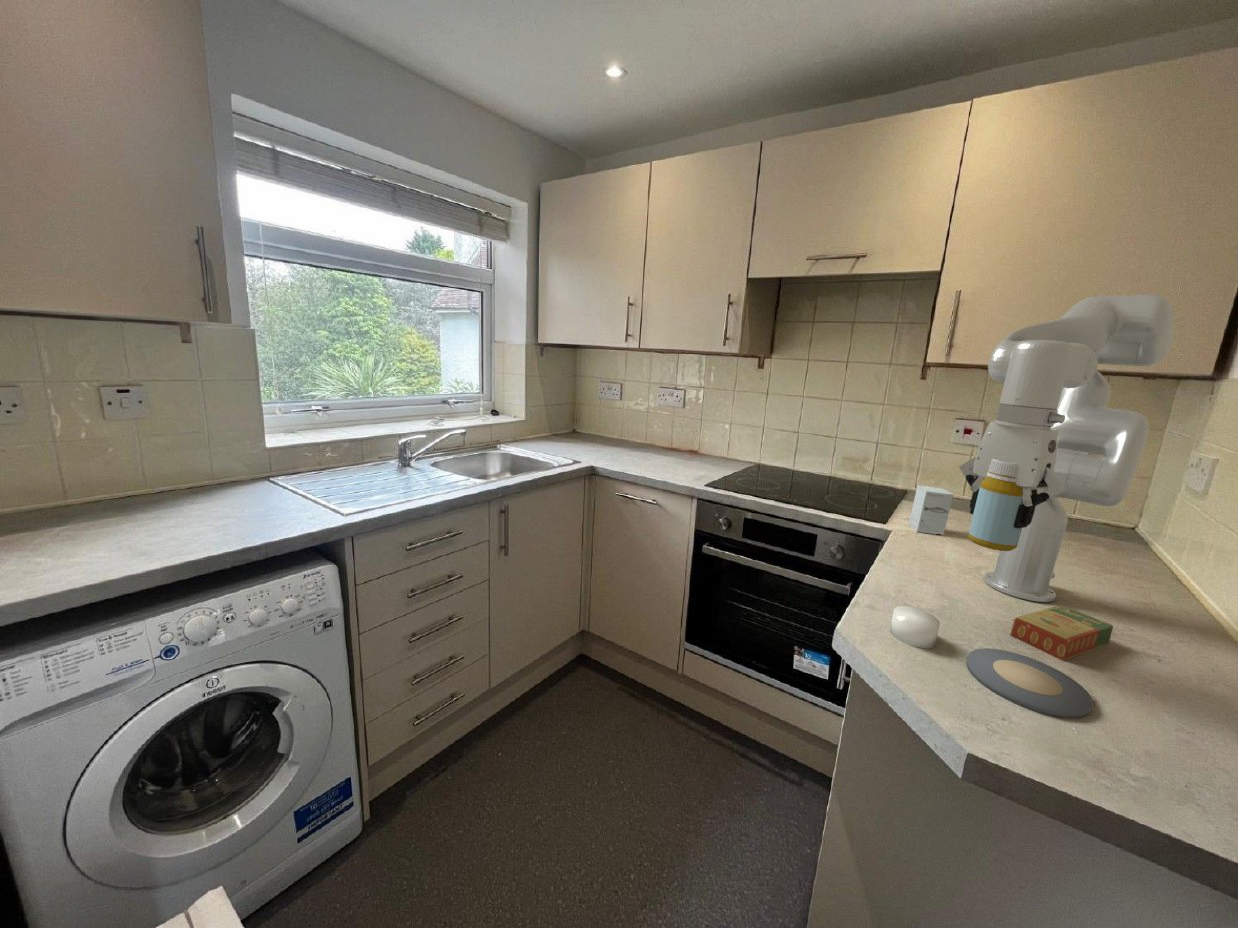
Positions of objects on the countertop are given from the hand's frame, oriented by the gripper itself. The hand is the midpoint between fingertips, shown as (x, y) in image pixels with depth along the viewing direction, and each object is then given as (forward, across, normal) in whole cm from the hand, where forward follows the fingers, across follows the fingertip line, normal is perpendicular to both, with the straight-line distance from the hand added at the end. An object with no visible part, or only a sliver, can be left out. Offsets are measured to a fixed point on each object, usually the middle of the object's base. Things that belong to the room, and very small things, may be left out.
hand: (997, 519), depth 86 cm
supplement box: (+22, +40, -49) cm, 67 cm away
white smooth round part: (+21, +2, +13) cm, 25 cm away
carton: (+22, -8, -14) cm, 27 cm away
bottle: (+5, 0, 0) cm, 5 cm away
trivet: (+21, -13, +8) cm, 26 cm away
